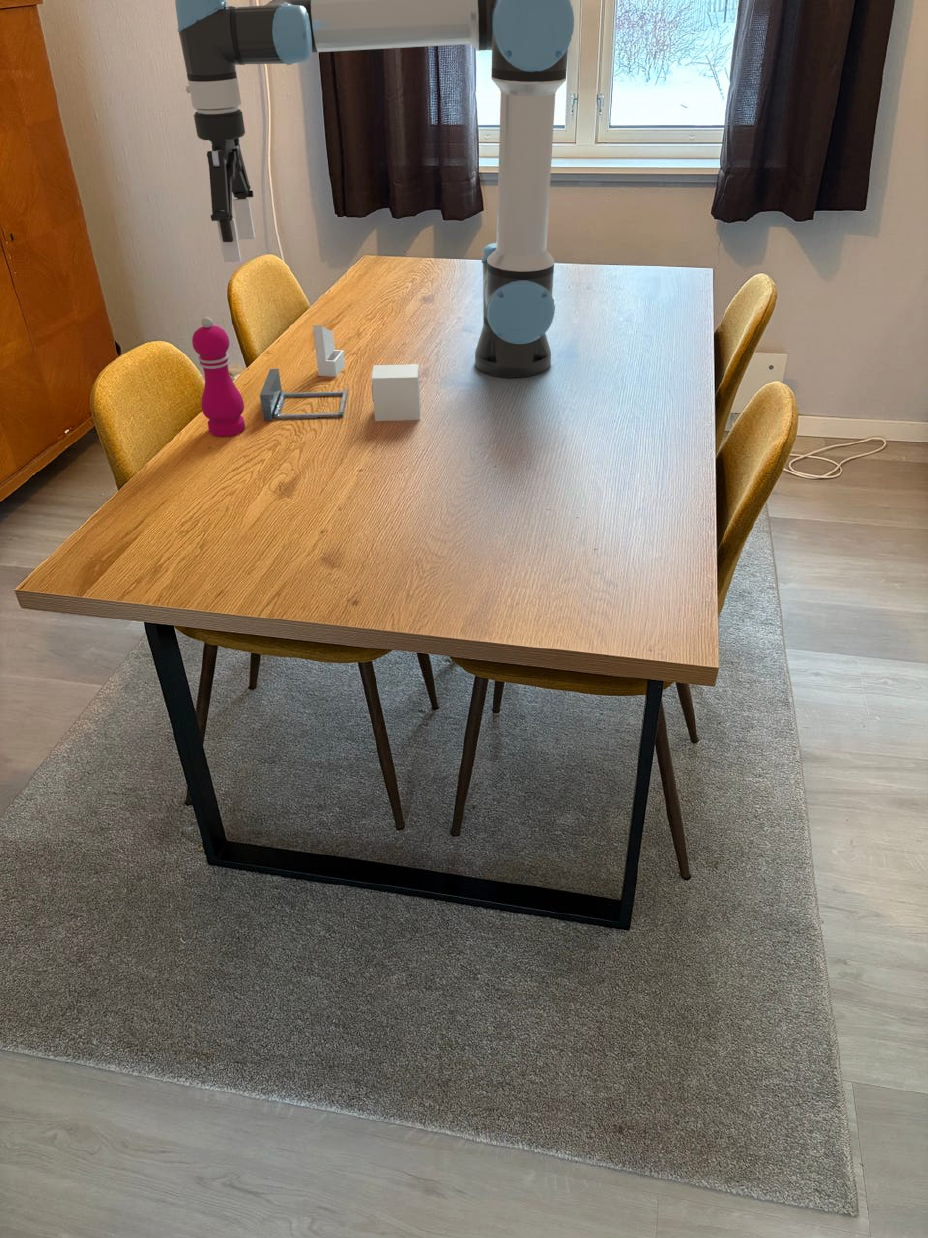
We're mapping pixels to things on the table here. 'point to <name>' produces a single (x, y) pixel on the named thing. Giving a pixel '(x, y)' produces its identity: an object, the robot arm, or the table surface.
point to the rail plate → (275, 396)
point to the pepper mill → (218, 381)
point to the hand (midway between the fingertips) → (240, 249)
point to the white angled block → (327, 353)
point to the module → (396, 392)
